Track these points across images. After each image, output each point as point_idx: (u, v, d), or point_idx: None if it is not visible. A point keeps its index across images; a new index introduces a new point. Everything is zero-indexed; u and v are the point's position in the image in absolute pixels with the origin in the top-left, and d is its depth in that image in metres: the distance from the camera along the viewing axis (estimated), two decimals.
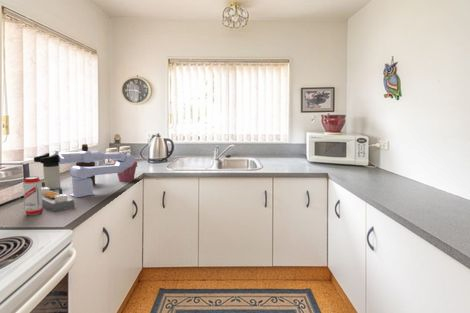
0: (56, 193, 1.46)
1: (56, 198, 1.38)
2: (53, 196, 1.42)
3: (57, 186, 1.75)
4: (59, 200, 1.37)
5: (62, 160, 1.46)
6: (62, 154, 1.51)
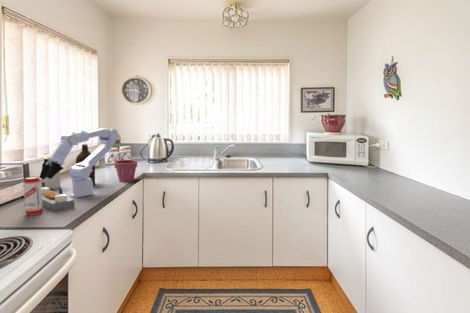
0: (56, 193, 1.46)
1: (56, 198, 1.38)
2: (53, 196, 1.42)
3: (57, 186, 1.75)
4: (59, 200, 1.37)
5: (61, 162, 1.43)
6: (54, 156, 1.46)
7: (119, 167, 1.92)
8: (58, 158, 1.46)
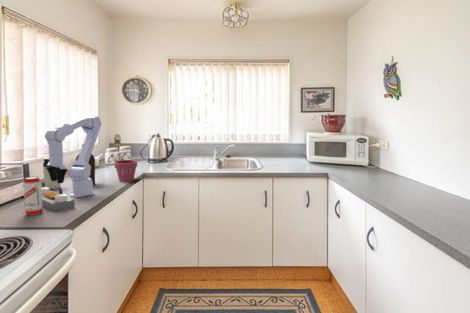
0: (56, 193, 1.46)
1: (56, 198, 1.38)
2: (53, 196, 1.42)
3: (57, 186, 1.75)
4: (59, 200, 1.37)
5: (63, 166, 1.41)
6: (52, 160, 1.43)
7: (119, 167, 1.92)
8: (57, 161, 1.43)
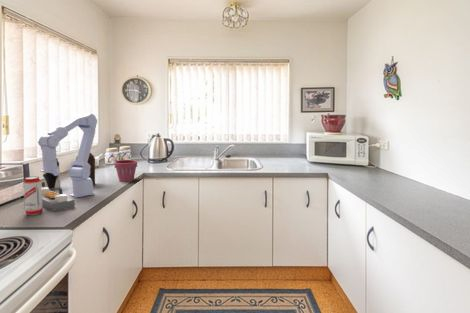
0: (56, 193, 1.46)
1: (56, 198, 1.38)
2: (53, 196, 1.42)
3: (57, 186, 1.75)
4: (59, 200, 1.37)
5: (57, 173, 1.40)
6: (46, 167, 1.41)
7: (119, 167, 1.92)
8: (51, 167, 1.41)
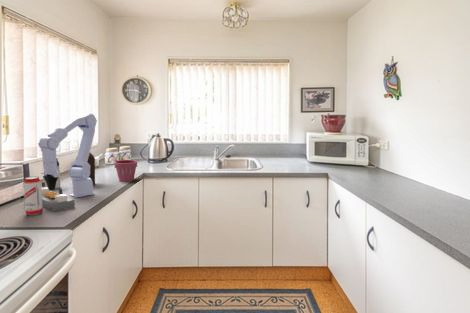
0: (56, 193, 1.46)
1: (56, 198, 1.38)
2: (53, 196, 1.42)
3: (57, 186, 1.75)
4: (59, 200, 1.37)
5: (57, 175, 1.40)
6: (46, 169, 1.41)
7: (119, 167, 1.92)
8: (51, 169, 1.42)
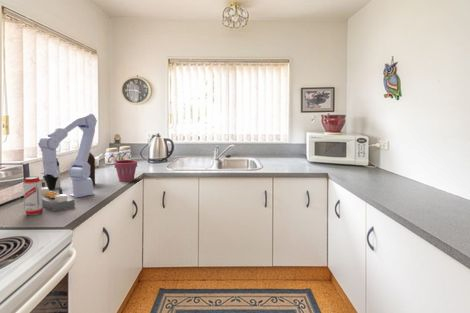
0: (56, 193, 1.46)
1: (56, 198, 1.38)
2: (53, 196, 1.42)
3: (57, 186, 1.75)
4: (59, 200, 1.37)
5: (57, 175, 1.40)
6: (46, 169, 1.41)
7: (119, 167, 1.92)
8: (51, 169, 1.42)
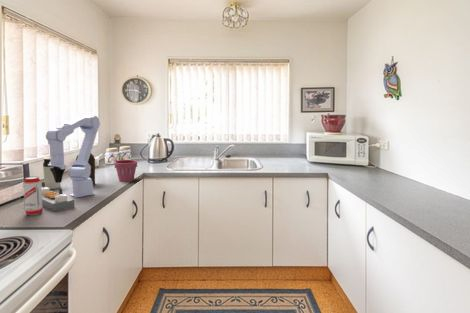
0: (56, 193, 1.46)
1: (56, 198, 1.38)
2: (53, 196, 1.42)
3: (57, 186, 1.75)
4: (59, 200, 1.37)
5: (64, 167, 1.41)
6: (53, 161, 1.42)
7: (119, 167, 1.92)
8: (58, 161, 1.43)
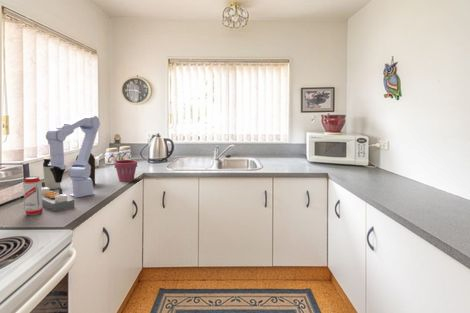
0: (56, 193, 1.46)
1: (56, 198, 1.38)
2: (53, 196, 1.42)
3: (57, 186, 1.75)
4: (59, 200, 1.37)
5: (64, 167, 1.41)
6: (53, 161, 1.42)
7: (119, 167, 1.92)
8: (58, 161, 1.43)
